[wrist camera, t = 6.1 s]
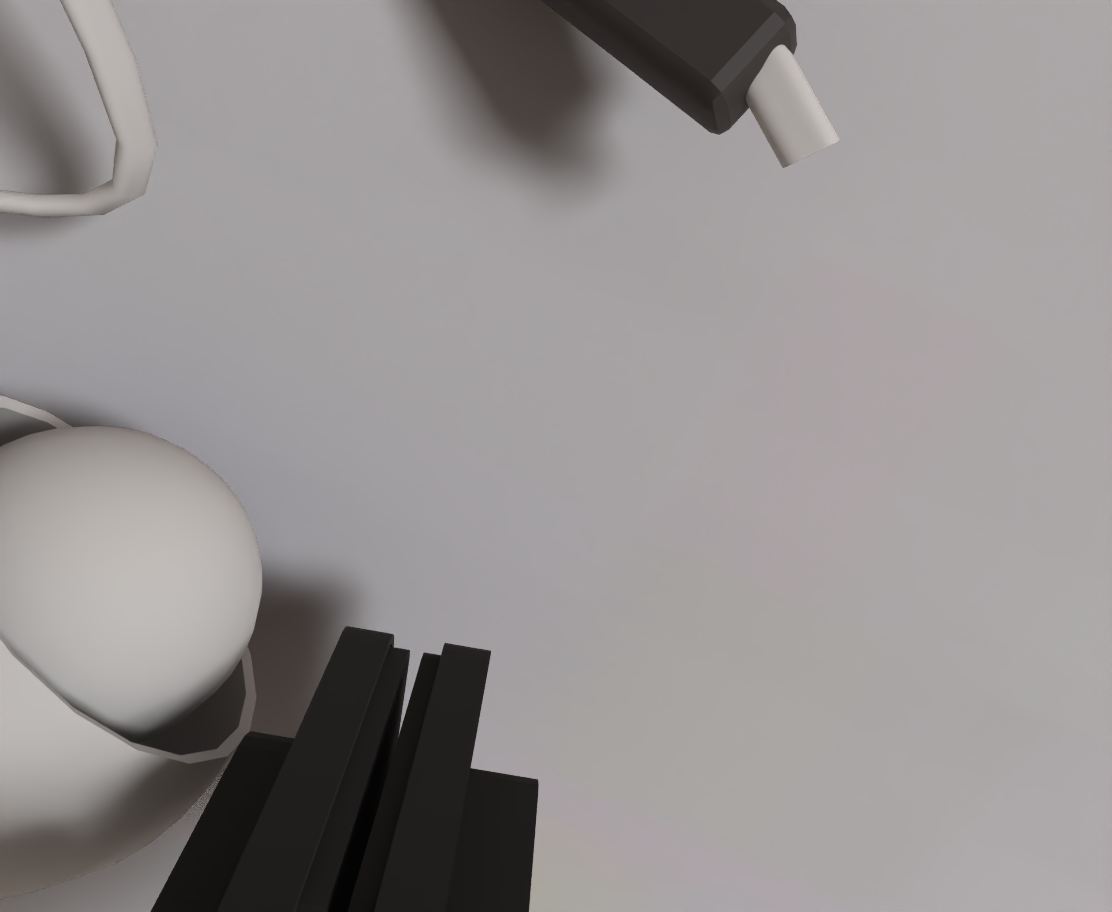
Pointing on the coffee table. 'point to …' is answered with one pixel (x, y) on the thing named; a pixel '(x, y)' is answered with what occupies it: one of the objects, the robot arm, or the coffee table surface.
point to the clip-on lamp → (220, 494)
